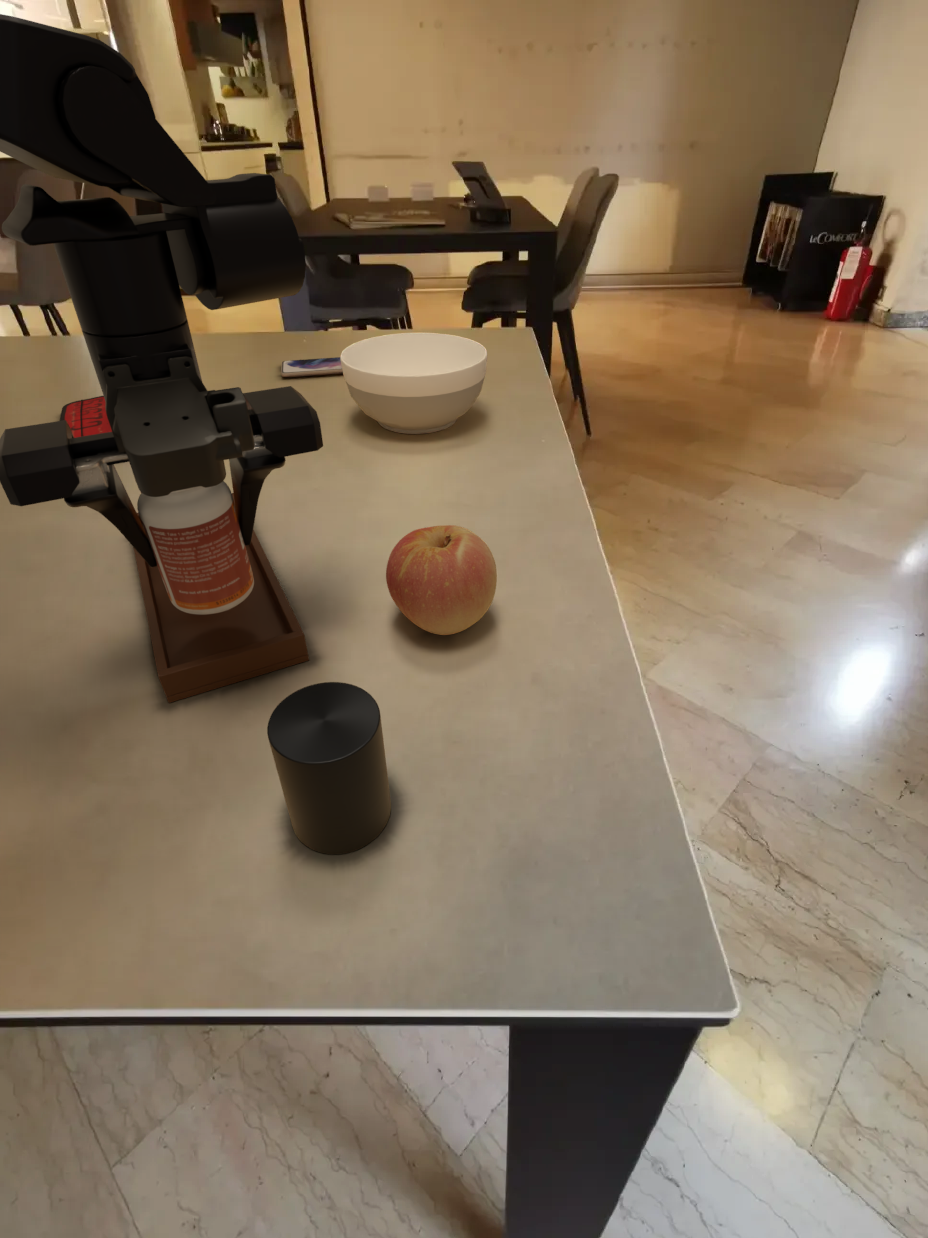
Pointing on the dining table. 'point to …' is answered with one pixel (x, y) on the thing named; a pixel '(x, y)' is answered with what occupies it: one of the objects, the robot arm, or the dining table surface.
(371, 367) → the bowl
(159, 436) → the robot arm
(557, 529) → the dining table surface
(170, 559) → the pill bottle
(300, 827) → the charcoal tin
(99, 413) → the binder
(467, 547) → the apple
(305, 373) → the smartphone
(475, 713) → the dining table surface
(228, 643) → the walnut tray
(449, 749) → the dining table surface
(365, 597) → the dining table surface
